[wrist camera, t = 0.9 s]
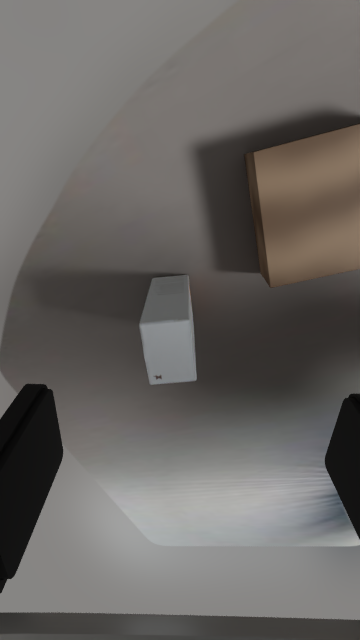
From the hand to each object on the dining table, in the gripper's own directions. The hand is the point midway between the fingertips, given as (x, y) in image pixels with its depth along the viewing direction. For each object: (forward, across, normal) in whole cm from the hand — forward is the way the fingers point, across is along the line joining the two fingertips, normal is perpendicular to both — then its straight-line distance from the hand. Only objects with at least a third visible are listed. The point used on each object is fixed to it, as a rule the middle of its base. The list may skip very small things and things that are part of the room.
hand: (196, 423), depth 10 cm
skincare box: (+26, +1, +6) cm, 27 cm away
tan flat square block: (+26, -12, -4) cm, 30 cm away
